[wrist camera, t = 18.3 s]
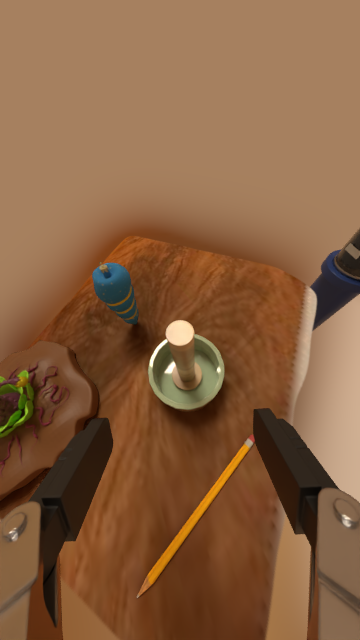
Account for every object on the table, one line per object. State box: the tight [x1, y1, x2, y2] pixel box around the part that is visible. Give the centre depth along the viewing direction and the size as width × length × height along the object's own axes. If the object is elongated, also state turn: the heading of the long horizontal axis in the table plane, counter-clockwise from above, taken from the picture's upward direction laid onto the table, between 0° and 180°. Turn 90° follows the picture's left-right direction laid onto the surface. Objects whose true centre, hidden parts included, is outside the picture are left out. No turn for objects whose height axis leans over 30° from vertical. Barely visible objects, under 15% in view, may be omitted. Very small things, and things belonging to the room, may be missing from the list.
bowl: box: [148, 334, 224, 412], centre depth 26 cm, size 10×10×5 cm
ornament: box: [92, 262, 138, 325], centre depth 27 cm, size 5×5×15 cm
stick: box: [166, 320, 202, 391], centre depth 21 cm, size 5×5×15 cm
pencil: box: [137, 434, 255, 598], centre depth 20 cm, size 1×19×1 cm
